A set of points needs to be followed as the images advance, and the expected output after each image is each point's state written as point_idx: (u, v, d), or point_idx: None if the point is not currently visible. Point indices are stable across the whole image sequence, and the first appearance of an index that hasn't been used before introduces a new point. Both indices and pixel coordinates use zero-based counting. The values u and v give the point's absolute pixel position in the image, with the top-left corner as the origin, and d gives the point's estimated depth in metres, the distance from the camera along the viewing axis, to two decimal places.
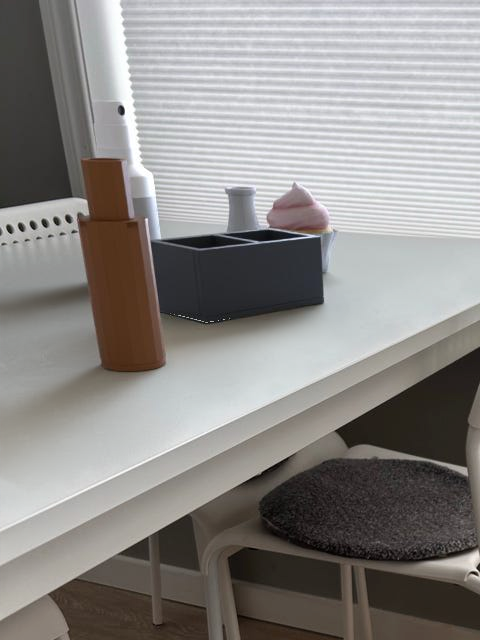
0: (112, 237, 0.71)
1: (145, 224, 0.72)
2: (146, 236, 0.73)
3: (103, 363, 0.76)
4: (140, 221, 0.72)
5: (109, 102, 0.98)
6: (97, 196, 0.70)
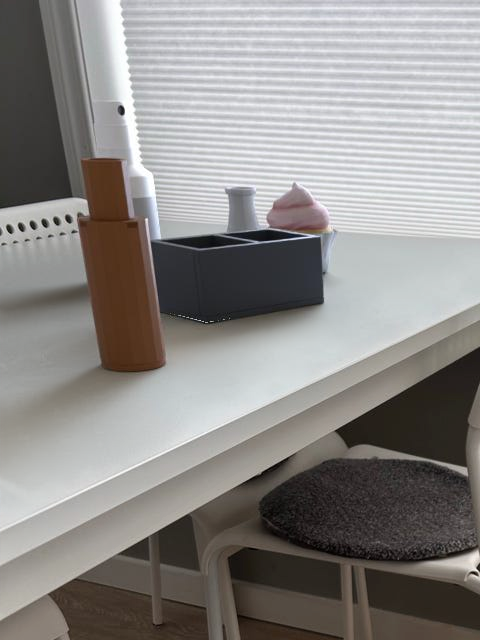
0: (112, 237, 0.71)
1: (145, 224, 0.72)
2: (146, 236, 0.73)
3: (103, 363, 0.76)
4: (140, 221, 0.72)
5: (109, 102, 0.98)
6: (97, 196, 0.70)
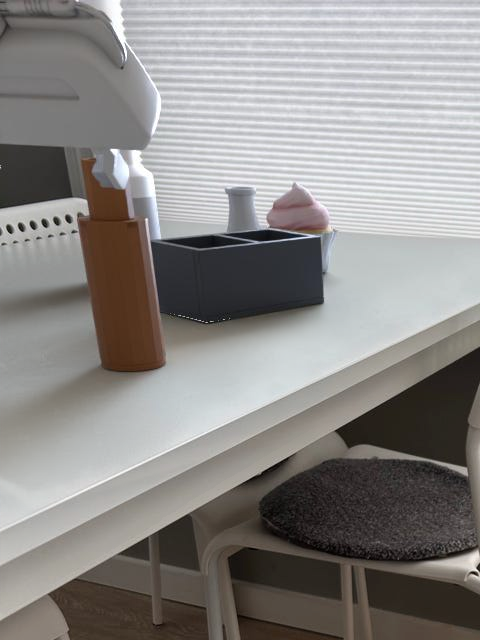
0: (112, 237, 0.71)
1: (145, 224, 0.72)
2: (146, 236, 0.73)
3: (103, 363, 0.76)
4: (140, 221, 0.72)
5: None
6: (97, 196, 0.70)
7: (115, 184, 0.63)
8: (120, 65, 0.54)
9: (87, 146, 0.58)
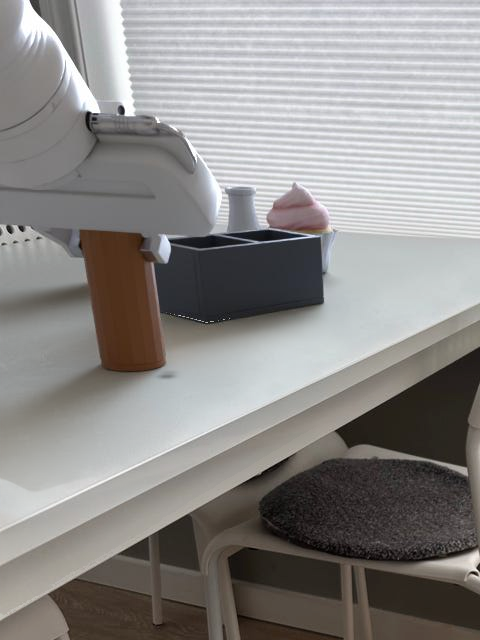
0: (113, 237, 0.71)
1: None
2: None
3: (103, 363, 0.76)
4: None
5: (109, 102, 0.98)
6: None
7: (159, 259, 0.73)
8: (191, 171, 0.63)
9: (157, 233, 0.68)
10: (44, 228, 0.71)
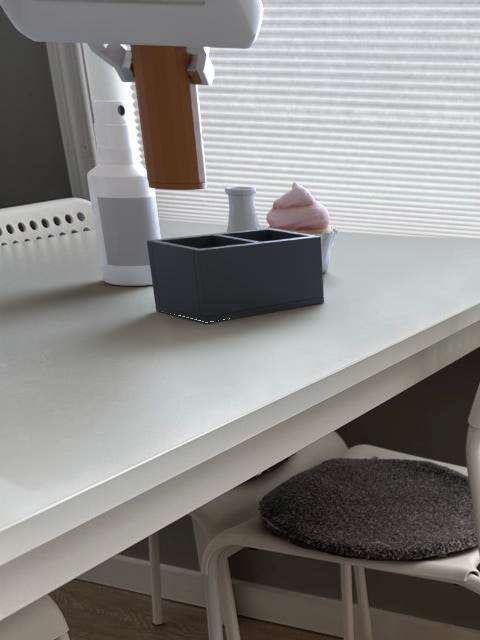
0: (163, 56, 0.77)
1: None
2: None
3: (150, 183, 0.83)
4: None
5: (109, 102, 0.98)
6: None
7: (204, 80, 0.79)
8: None
9: (205, 45, 0.75)
10: (100, 47, 0.77)
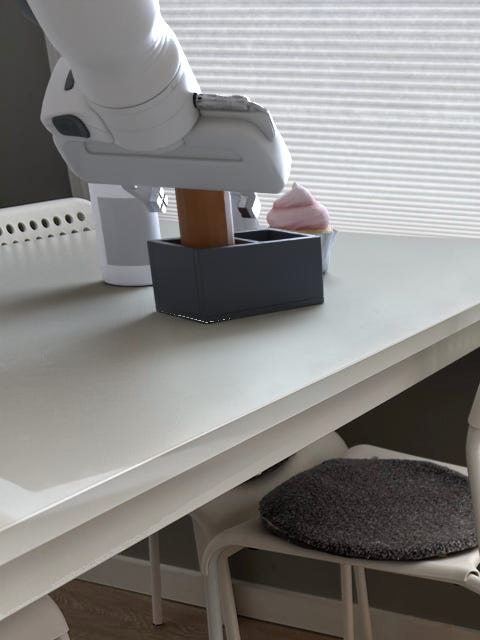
0: (203, 198, 0.88)
1: None
2: (228, 197, 0.90)
3: None
4: None
5: None
6: None
7: (252, 215, 0.90)
8: (271, 140, 0.81)
9: (240, 191, 0.86)
10: (131, 187, 0.88)
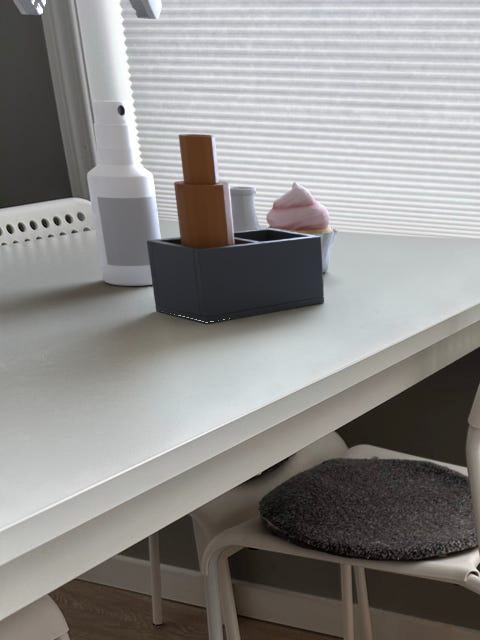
0: (203, 198, 0.88)
1: (228, 187, 0.90)
2: (228, 197, 0.90)
3: None
4: (224, 185, 0.89)
5: (109, 102, 0.98)
6: (192, 164, 0.88)
7: (149, 13, 0.71)
8: None
9: None
10: None
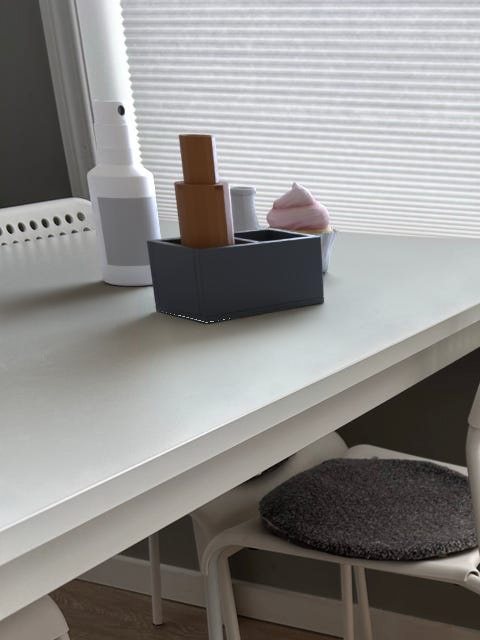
0: (203, 198, 0.88)
1: (228, 187, 0.90)
2: (228, 197, 0.90)
3: None
4: (224, 185, 0.89)
5: (109, 102, 0.98)
6: (192, 164, 0.88)
7: None
8: None
9: None
10: None
